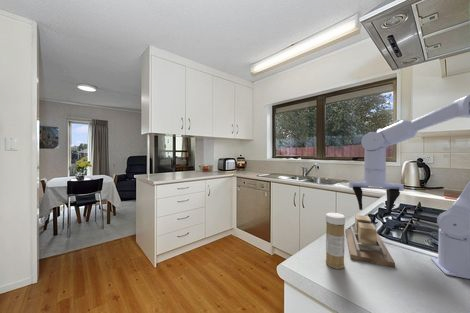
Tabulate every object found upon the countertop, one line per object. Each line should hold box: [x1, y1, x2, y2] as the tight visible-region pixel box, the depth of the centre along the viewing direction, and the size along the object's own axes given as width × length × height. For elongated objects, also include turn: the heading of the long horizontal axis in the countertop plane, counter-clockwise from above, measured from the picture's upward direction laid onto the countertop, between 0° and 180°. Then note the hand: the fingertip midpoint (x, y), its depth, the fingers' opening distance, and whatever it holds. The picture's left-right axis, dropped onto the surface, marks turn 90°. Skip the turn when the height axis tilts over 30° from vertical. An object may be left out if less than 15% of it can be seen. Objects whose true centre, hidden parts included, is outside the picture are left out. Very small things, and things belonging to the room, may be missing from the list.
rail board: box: [344, 214, 396, 268], centre depth 63 cm, size 10×20×7 cm, turn 155°
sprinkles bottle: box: [325, 212, 346, 270], centre depth 53 cm, size 5×5×13 cm
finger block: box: [358, 222, 377, 246], centre depth 61 cm, size 4×6×6 cm
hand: (374, 210), depth 66 cm, fingers open, 7 cm apart
